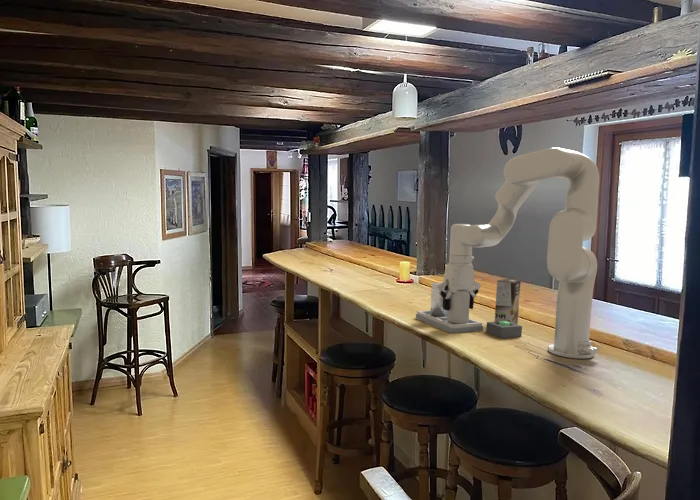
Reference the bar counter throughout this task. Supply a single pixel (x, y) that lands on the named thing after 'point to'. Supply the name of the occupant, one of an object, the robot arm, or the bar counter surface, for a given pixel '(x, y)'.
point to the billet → (437, 302)
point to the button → (504, 323)
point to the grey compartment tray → (445, 325)
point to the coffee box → (507, 300)
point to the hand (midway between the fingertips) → (458, 309)
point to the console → (504, 330)
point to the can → (459, 308)
